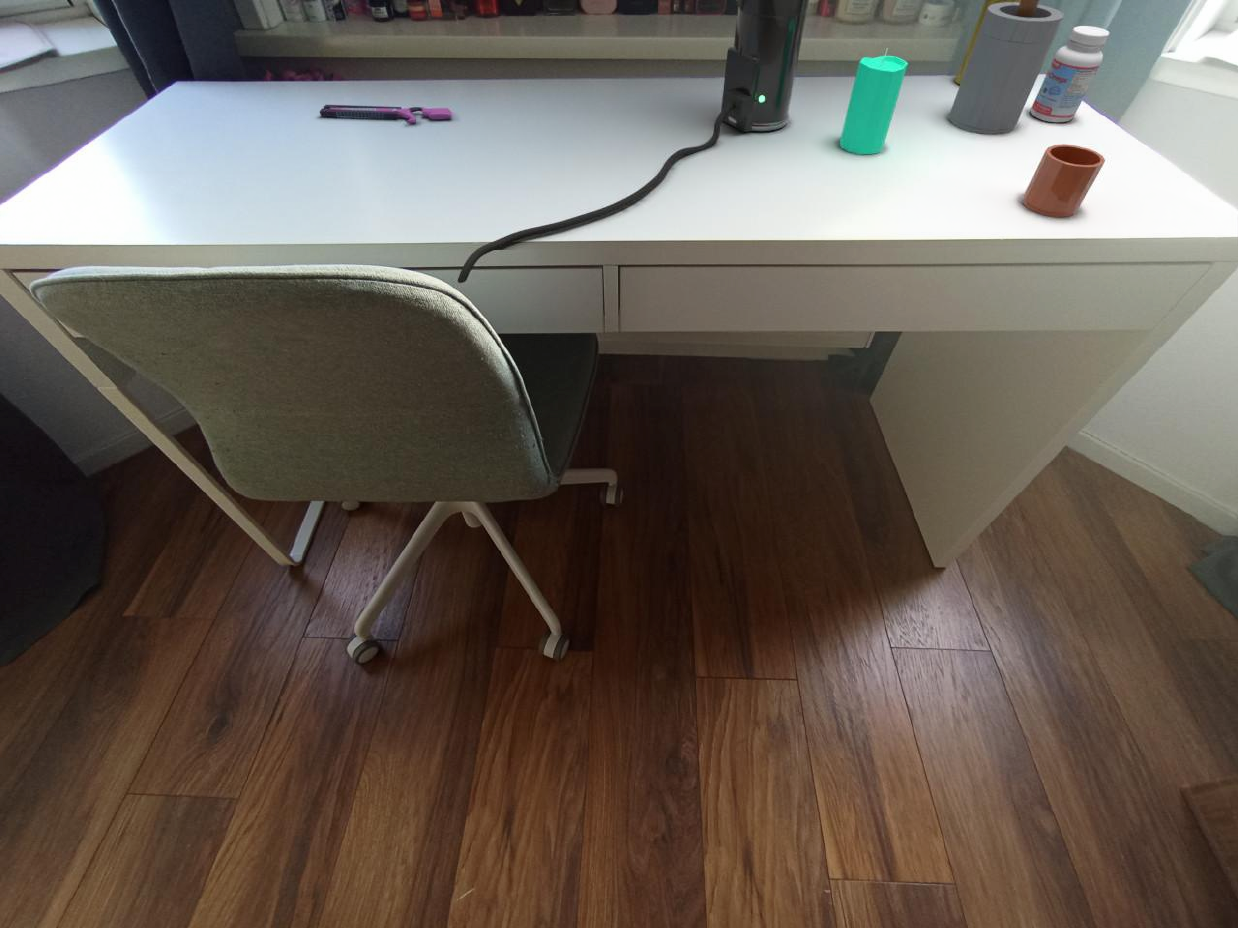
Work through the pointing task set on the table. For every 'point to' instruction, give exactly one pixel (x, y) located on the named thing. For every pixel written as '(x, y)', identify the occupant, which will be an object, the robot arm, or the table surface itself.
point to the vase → (988, 1)
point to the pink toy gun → (383, 112)
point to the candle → (872, 103)
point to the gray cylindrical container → (1003, 68)
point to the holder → (1062, 180)
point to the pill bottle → (1070, 75)
